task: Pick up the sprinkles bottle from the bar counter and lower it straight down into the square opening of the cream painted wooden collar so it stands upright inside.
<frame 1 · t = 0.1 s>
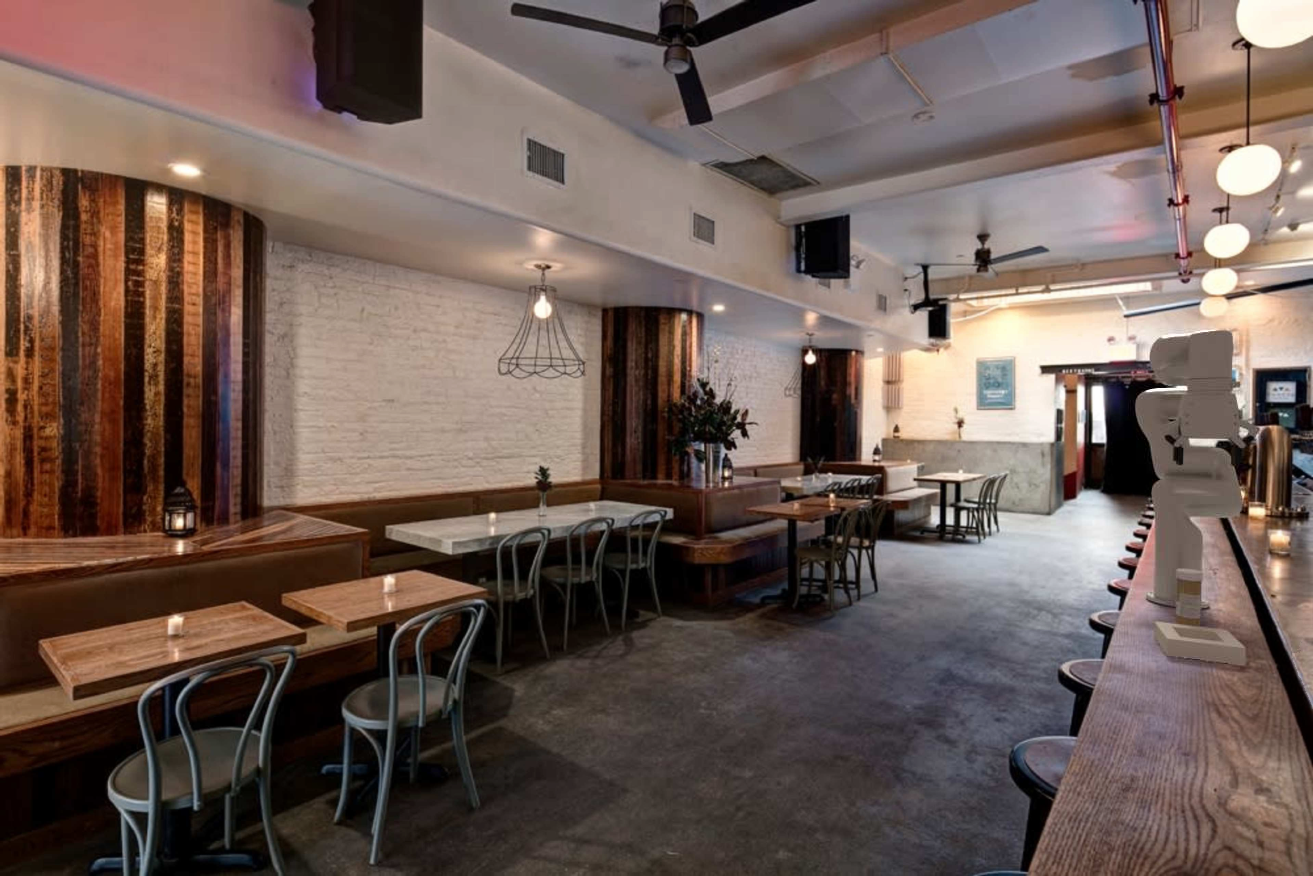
hand: (1206, 465, 145), 37 cm above the bar counter, tool pointing down, fingers open, 9 cm apart
sprinkles bottle: (1187, 631, 146), on the bar counter
collar: (1196, 651, 134), on the bar counter
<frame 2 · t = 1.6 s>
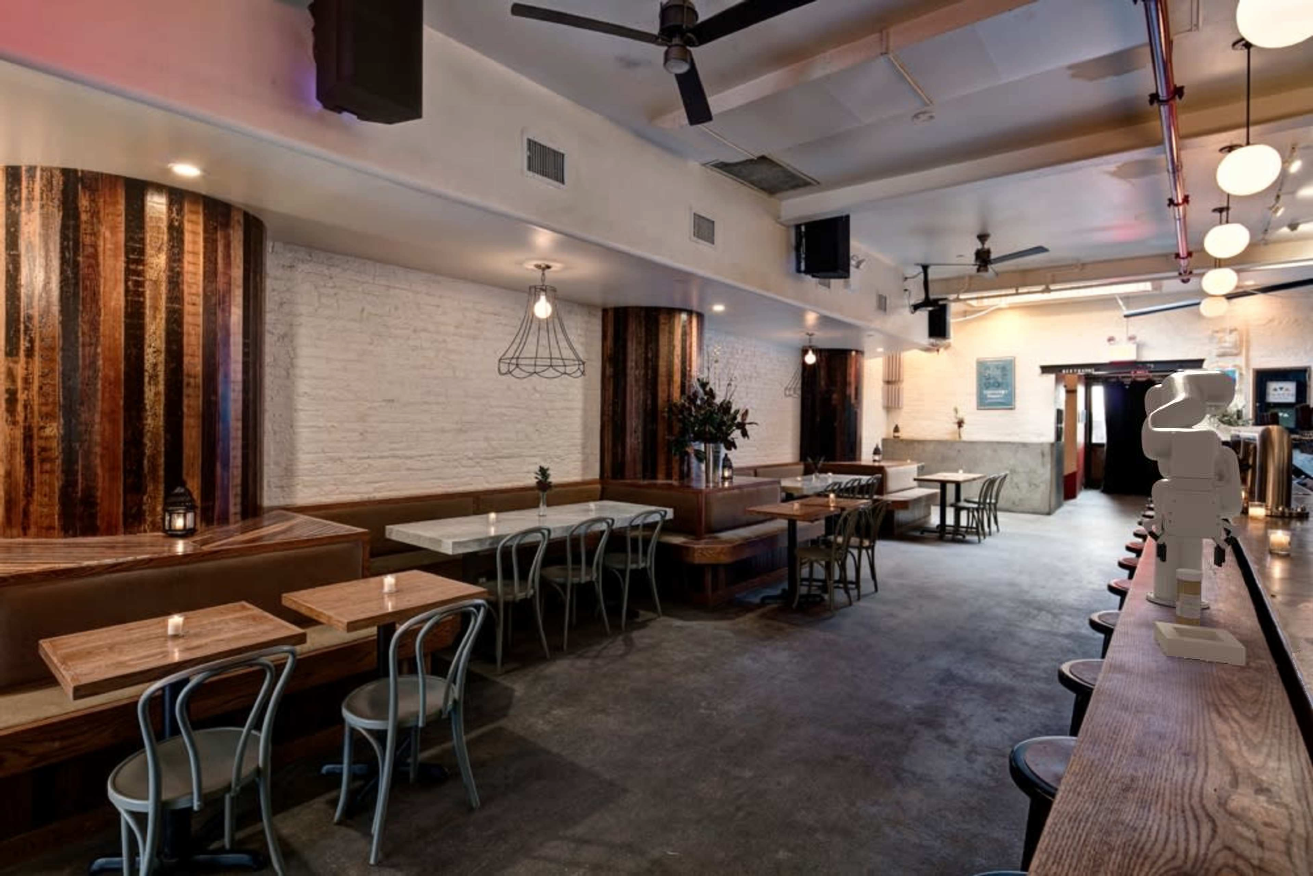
hand: (1189, 563, 145), 15 cm above the bar counter, tool pointing down, fingers open, 9 cm apart
nothing on the bar counter moved.
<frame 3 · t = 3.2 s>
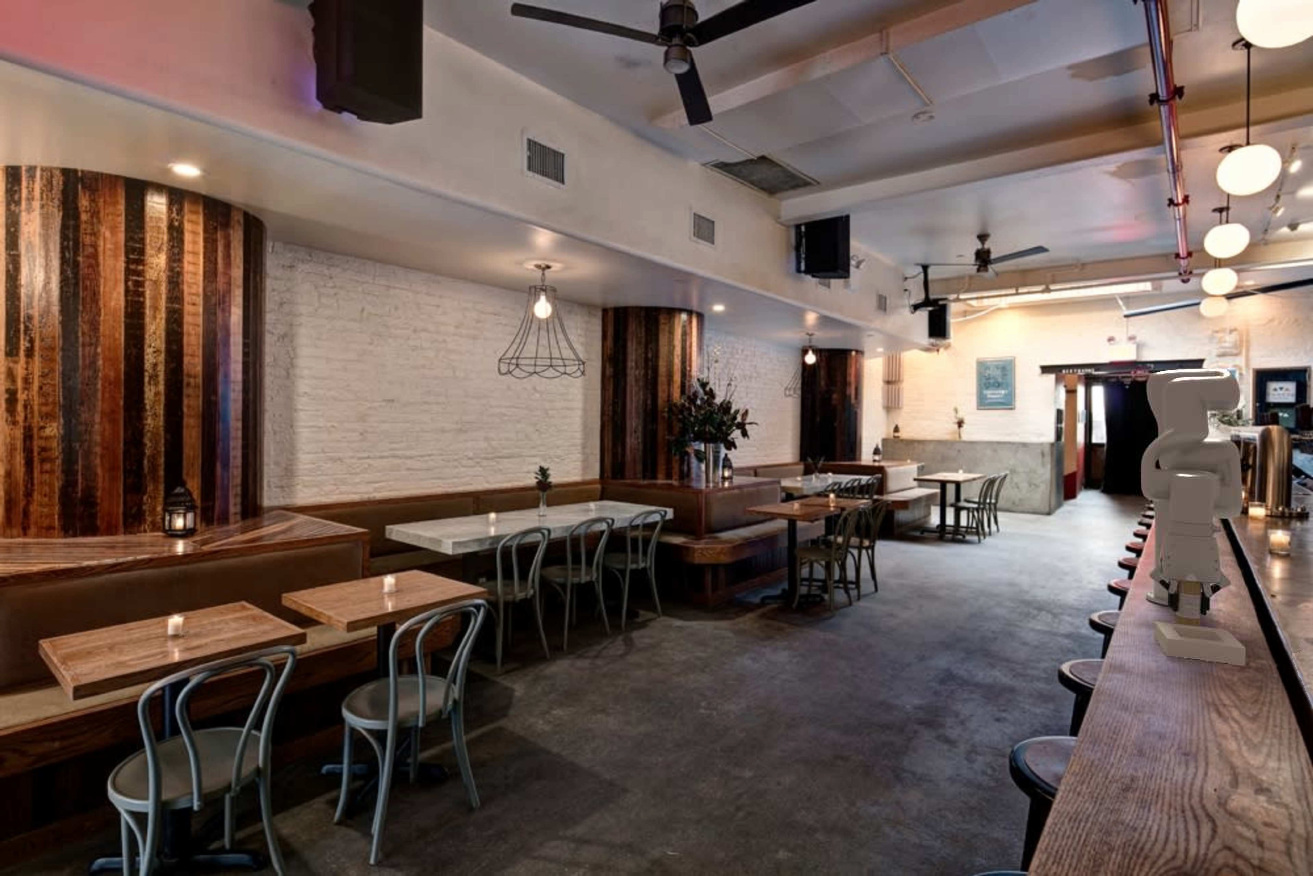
hand: (1188, 611, 146), 4 cm above the bar counter, tool pointing down, fingers closed on sprinkles bottle, 4 cm apart
sprinkles bottle: (1187, 631, 146), on the bar counter, touching gripper
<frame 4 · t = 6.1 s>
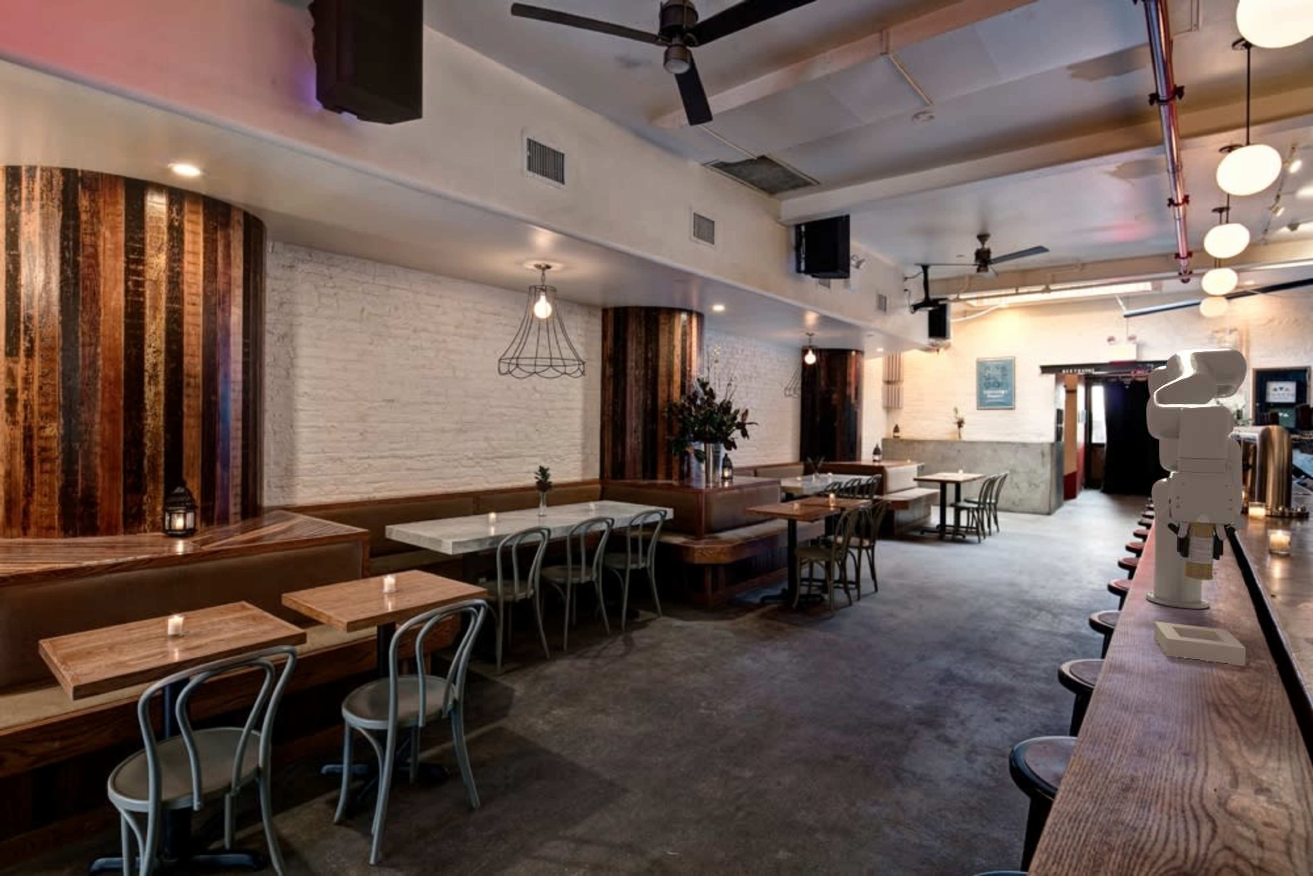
hand: (1199, 556, 133), 19 cm above the bar counter, tool pointing down, fingers closed on sprinkles bottle, 4 cm apart
sprinkles bottle: (1198, 578, 133), point 15 cm above the bar counter, touching gripper
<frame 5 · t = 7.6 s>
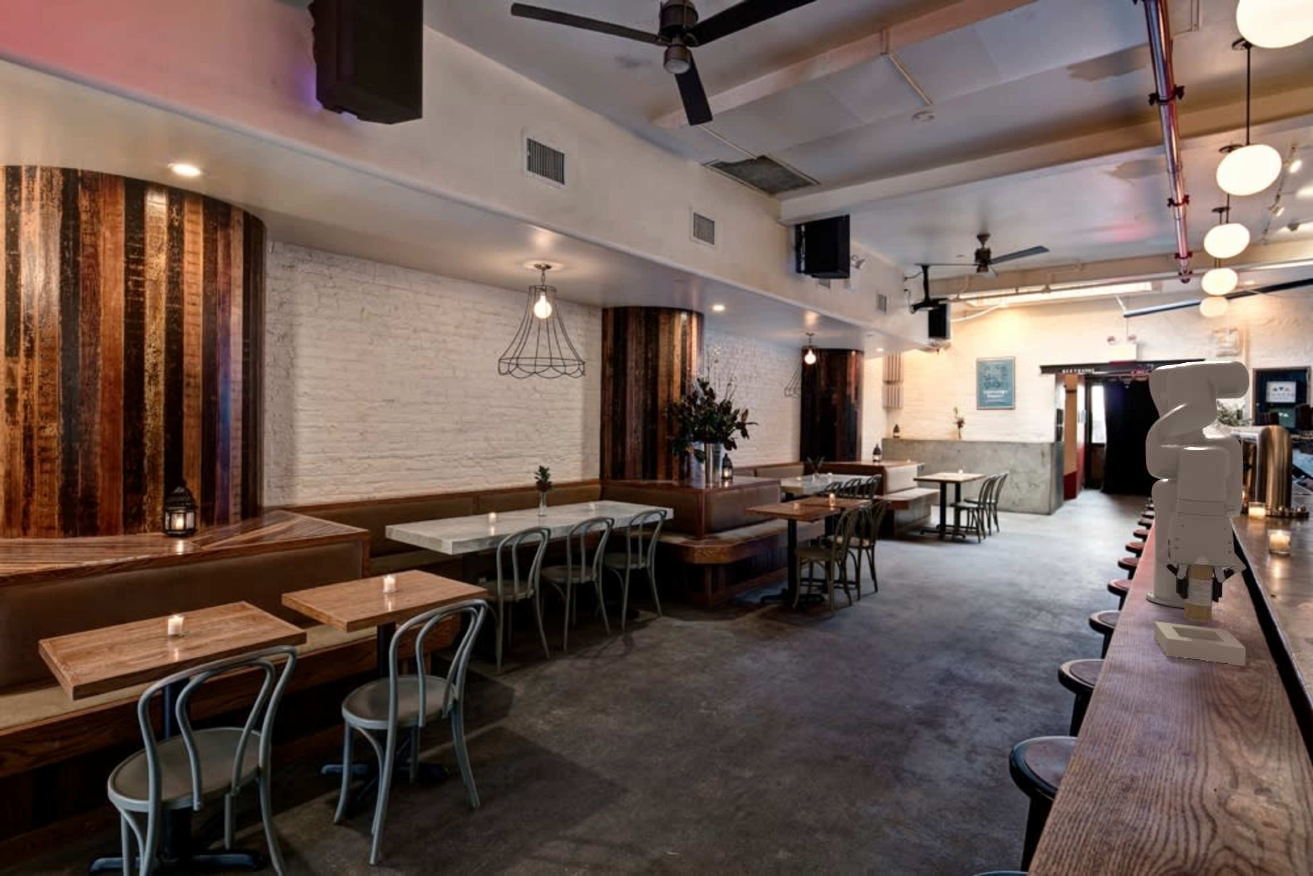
hand: (1198, 598, 133), 11 cm above the bar counter, tool pointing down, fingers closed on sprinkles bottle, 4 cm apart
sprinkles bottle: (1197, 620, 134), point 6 cm above the bar counter, touching gripper
when the fingers open (6 cm above the bar counter, at t = 8.9 s): sprinkles bottle drops 1 cm, resting in collar.
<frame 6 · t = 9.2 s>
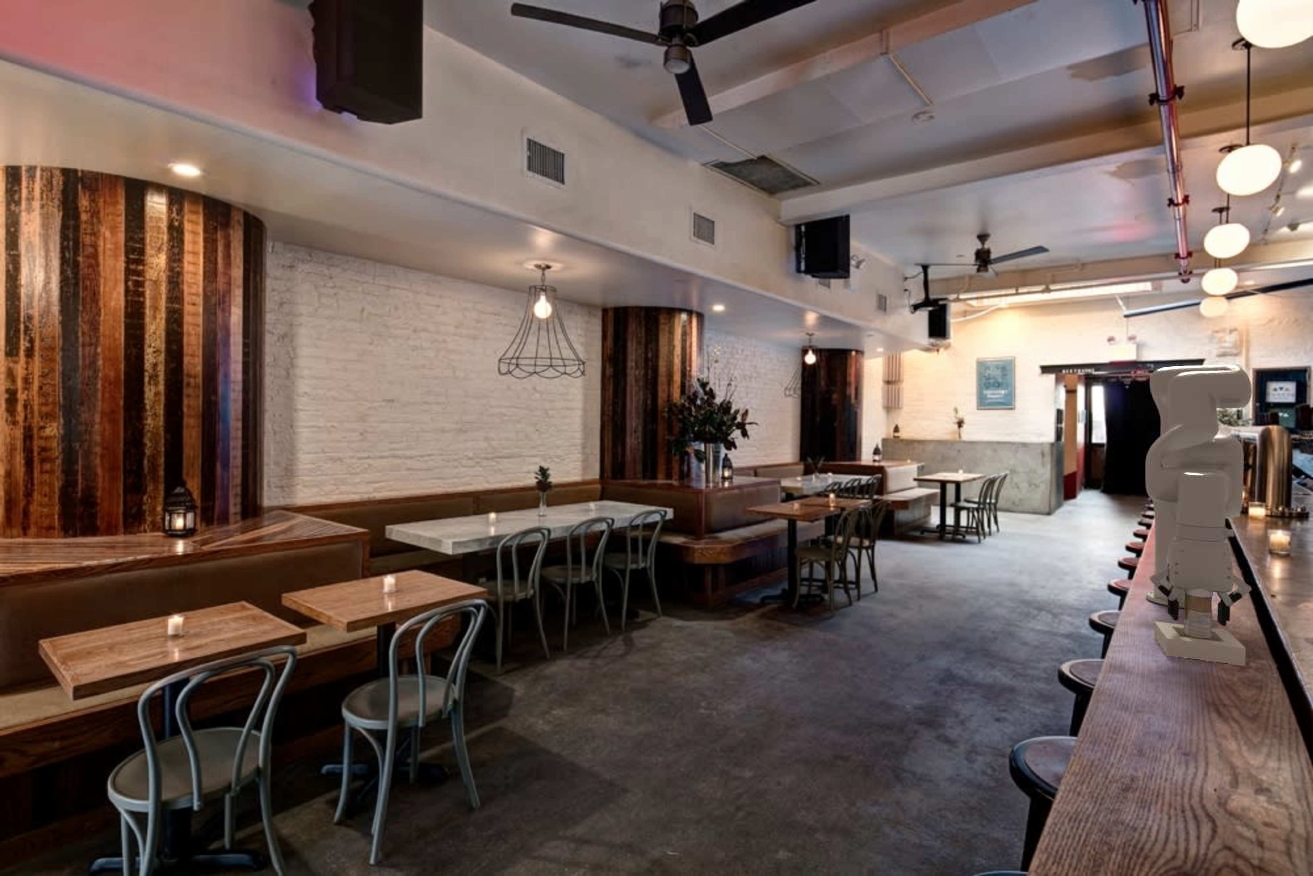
hand: (1197, 620, 134), 6 cm above the bar counter, tool pointing down, fingers open, 7 cm apart
sprinkles bottle: (1197, 652, 134), resting in collar
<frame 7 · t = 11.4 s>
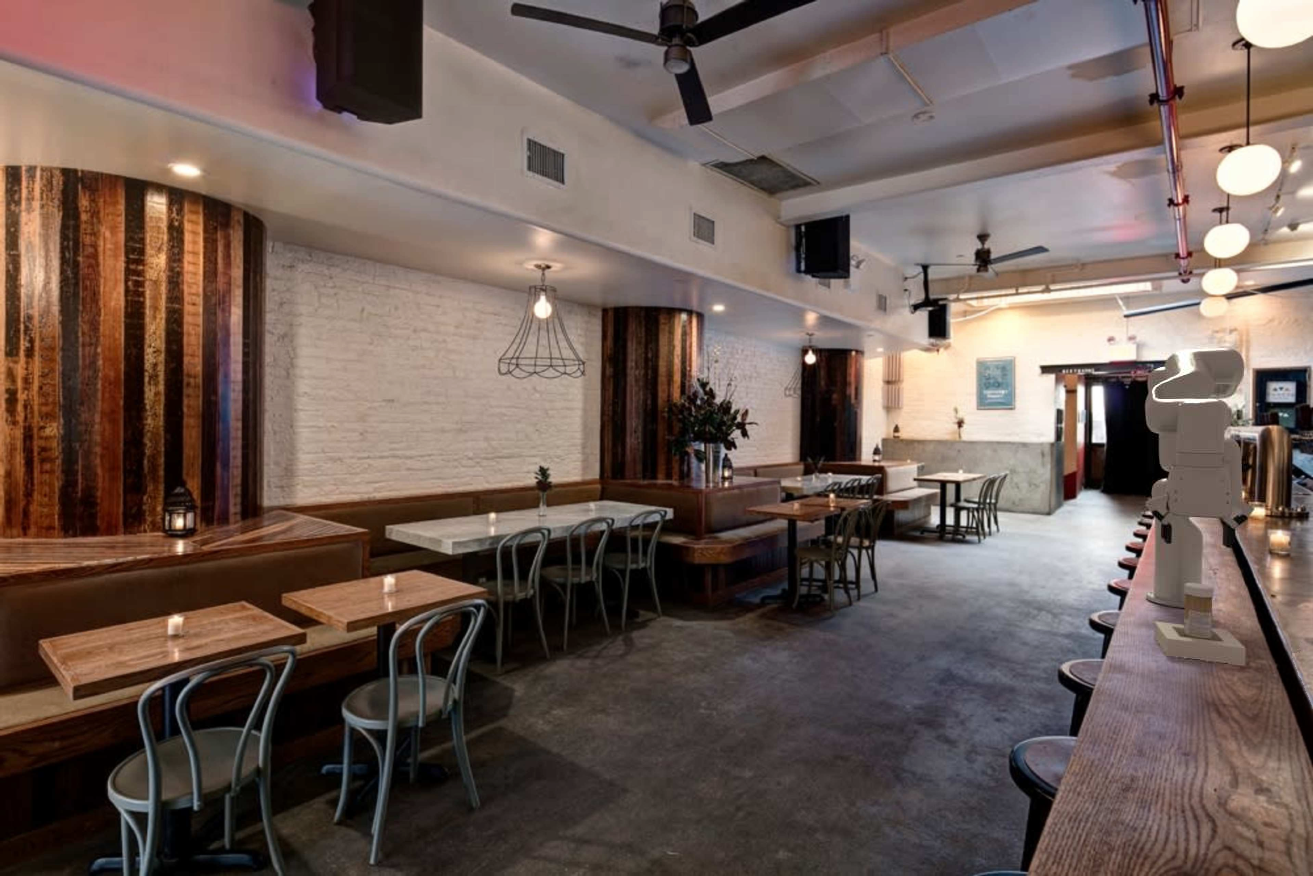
hand: (1196, 544, 136), 21 cm above the bar counter, tool pointing down, fingers open, 9 cm apart
nothing on the bar counter moved.
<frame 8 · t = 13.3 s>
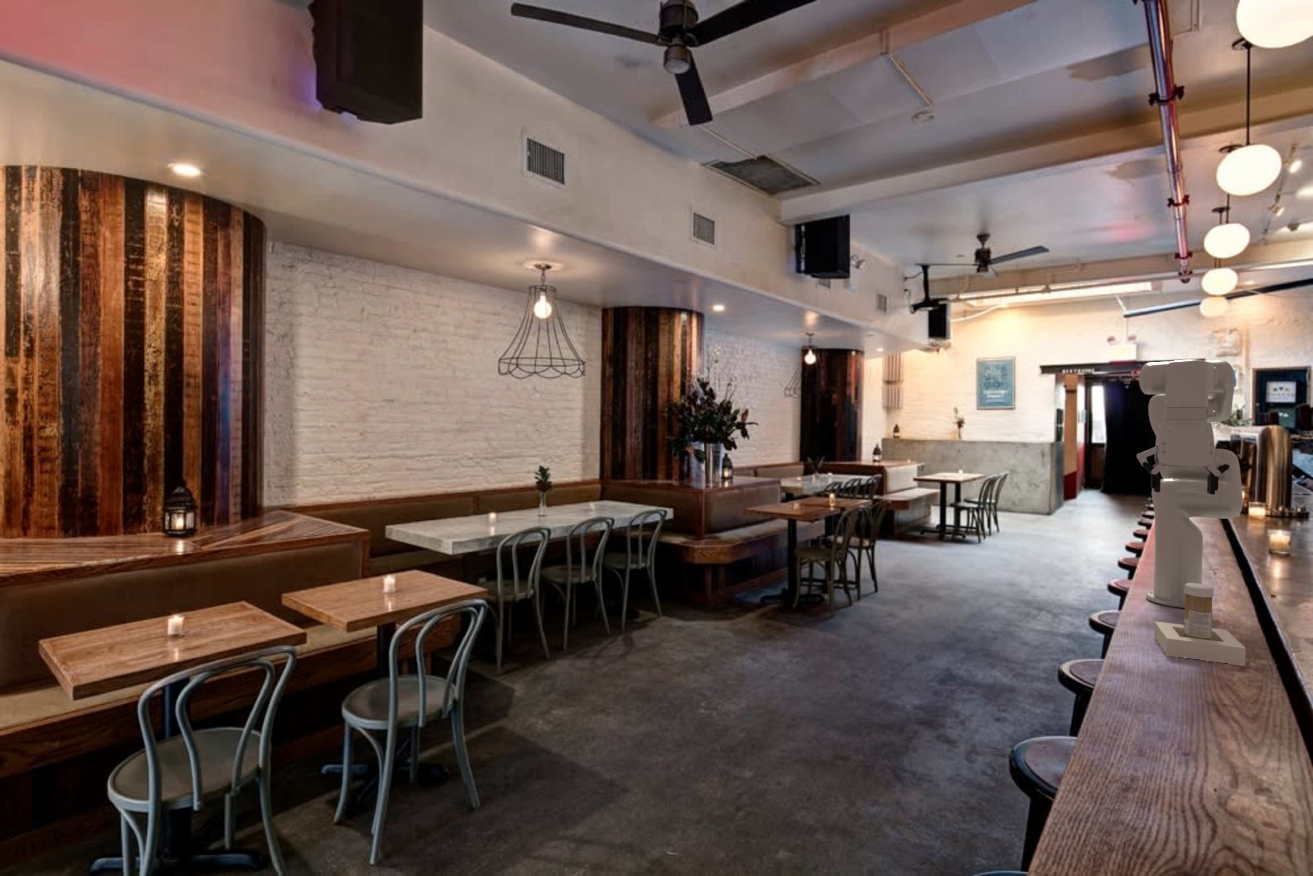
hand: (1183, 492, 148), 30 cm above the bar counter, tool pointing down, fingers open, 9 cm apart
nothing on the bar counter moved.
at the end: sprinkles bottle 0.2 cm off-centre on the collar, point 0.0 cm above the collar's base; sprinkles bottle tilted 0°; the gripper is holding nothing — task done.
